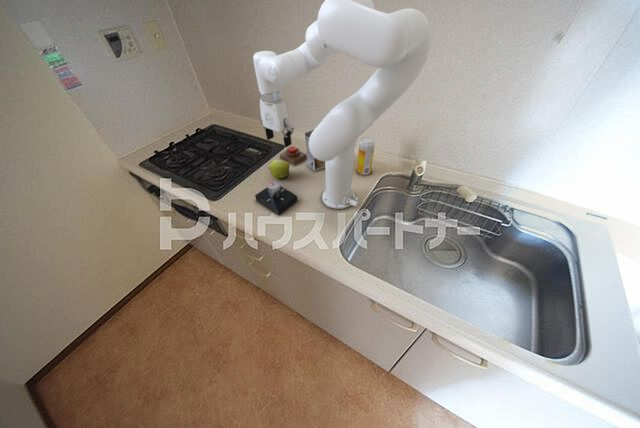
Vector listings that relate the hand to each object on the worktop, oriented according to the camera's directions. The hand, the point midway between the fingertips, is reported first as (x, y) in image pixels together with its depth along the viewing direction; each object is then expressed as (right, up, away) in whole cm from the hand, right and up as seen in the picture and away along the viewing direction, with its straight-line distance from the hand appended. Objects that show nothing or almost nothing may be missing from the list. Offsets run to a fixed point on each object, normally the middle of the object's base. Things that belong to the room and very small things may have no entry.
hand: (279, 141), depth 92 cm
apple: (-1, -12, +12) cm, 17 cm away
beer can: (+35, -10, +12) cm, 38 cm away
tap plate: (-1, -23, 0) cm, 23 cm away
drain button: (+3, +1, +20) cm, 20 cm away
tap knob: (-1, -21, -2) cm, 21 cm away
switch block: (+3, -1, +22) cm, 23 cm away
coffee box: (+16, -6, +17) cm, 24 cm away
